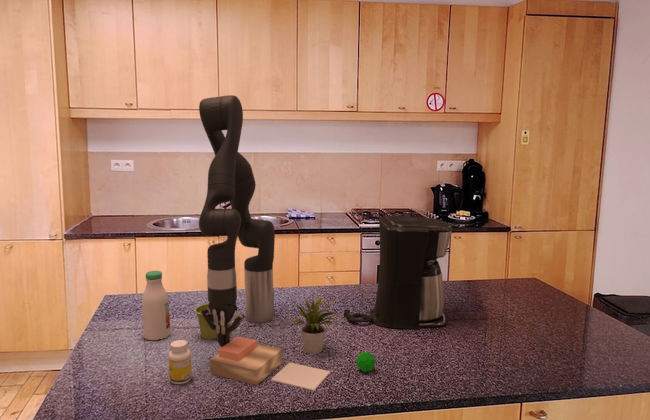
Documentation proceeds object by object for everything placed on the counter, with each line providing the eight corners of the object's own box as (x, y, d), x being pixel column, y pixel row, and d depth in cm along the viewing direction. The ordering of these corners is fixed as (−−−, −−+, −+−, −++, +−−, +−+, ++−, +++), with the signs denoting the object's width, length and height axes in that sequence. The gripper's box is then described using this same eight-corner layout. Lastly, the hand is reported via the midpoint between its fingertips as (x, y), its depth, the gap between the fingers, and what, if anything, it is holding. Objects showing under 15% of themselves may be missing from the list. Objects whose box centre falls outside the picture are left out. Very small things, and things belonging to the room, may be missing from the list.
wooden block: (238, 353, 142) (238, 339, 141) (282, 362, 136) (282, 348, 135) (210, 373, 130) (209, 359, 129) (256, 385, 124) (256, 370, 124)
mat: (289, 363, 136) (289, 362, 136) (330, 372, 131) (330, 371, 131) (271, 380, 127) (271, 379, 127) (314, 390, 122) (314, 389, 122)
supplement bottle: (172, 374, 129) (170, 338, 128) (193, 373, 130) (192, 338, 128) (167, 385, 124) (165, 348, 122) (189, 384, 124) (188, 347, 123)
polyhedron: (374, 375, 129) (374, 358, 129) (355, 374, 130) (355, 356, 129) (375, 366, 134) (376, 350, 133) (357, 365, 135) (357, 348, 134)
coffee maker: (460, 324, 163) (466, 222, 158) (375, 342, 149) (378, 231, 143) (418, 301, 183) (421, 211, 178) (339, 316, 169) (341, 218, 164)
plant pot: (232, 331, 156) (232, 305, 154) (216, 344, 147) (216, 316, 146) (206, 327, 159) (205, 301, 157) (189, 339, 150) (188, 312, 149)
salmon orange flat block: (238, 343, 139) (238, 336, 138) (256, 347, 136) (256, 340, 136) (218, 356, 130) (218, 349, 130) (238, 361, 128) (238, 354, 128)
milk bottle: (162, 342, 148) (158, 277, 145) (138, 339, 150) (134, 275, 146) (174, 331, 156) (172, 269, 152) (152, 329, 157) (148, 268, 154)
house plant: (300, 367, 133) (300, 309, 131) (277, 347, 145) (276, 293, 142) (345, 354, 141) (345, 299, 138) (319, 337, 152) (319, 285, 150)
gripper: (251, 283, 133) (252, 344, 135) (210, 276, 138) (212, 335, 141) (234, 291, 126) (236, 356, 129) (192, 284, 131) (195, 346, 134)
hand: (223, 345), depth 135 cm, fingers closed
